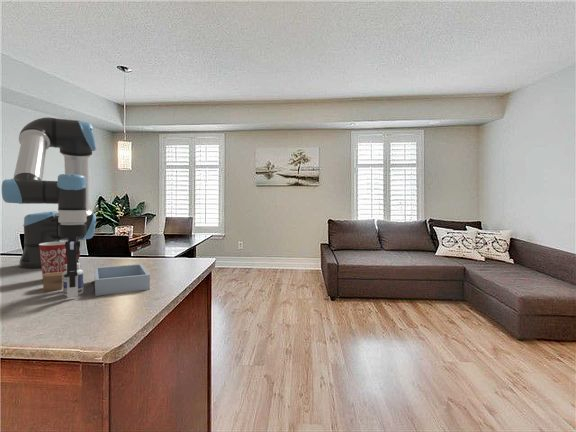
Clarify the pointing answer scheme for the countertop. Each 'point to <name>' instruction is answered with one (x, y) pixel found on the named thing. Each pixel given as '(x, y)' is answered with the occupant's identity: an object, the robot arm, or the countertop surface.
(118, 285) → the tote
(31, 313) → the countertop surface
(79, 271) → the pill bottle
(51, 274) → the wooden cube
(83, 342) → the countertop surface
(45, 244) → the mug
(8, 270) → the countertop surface
